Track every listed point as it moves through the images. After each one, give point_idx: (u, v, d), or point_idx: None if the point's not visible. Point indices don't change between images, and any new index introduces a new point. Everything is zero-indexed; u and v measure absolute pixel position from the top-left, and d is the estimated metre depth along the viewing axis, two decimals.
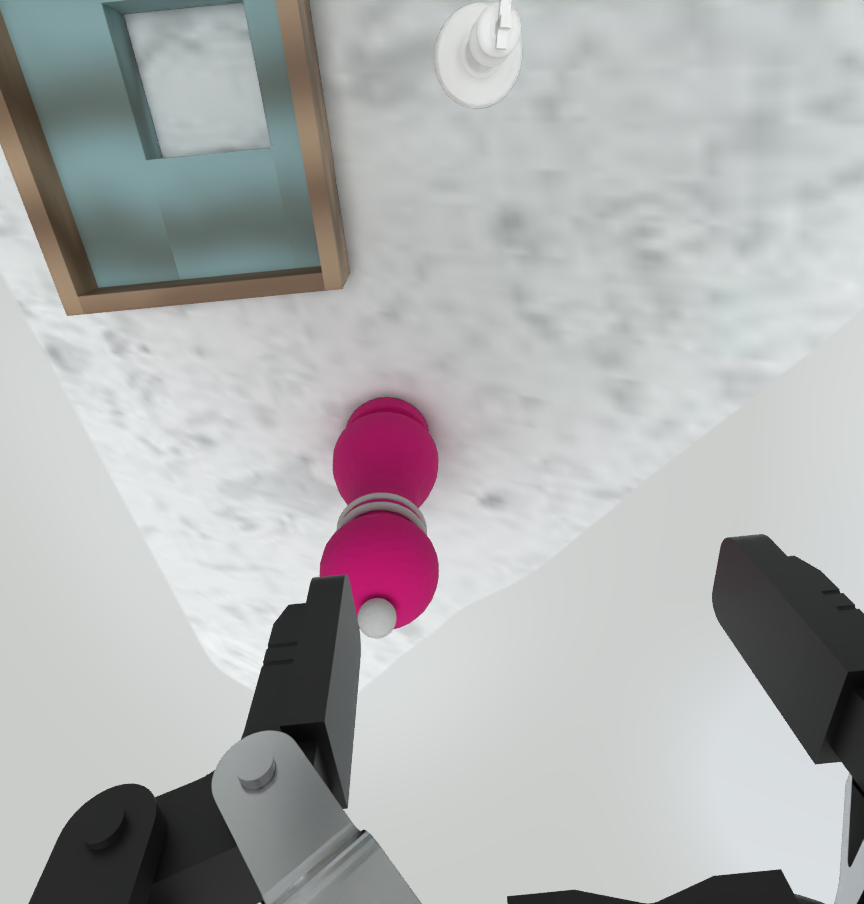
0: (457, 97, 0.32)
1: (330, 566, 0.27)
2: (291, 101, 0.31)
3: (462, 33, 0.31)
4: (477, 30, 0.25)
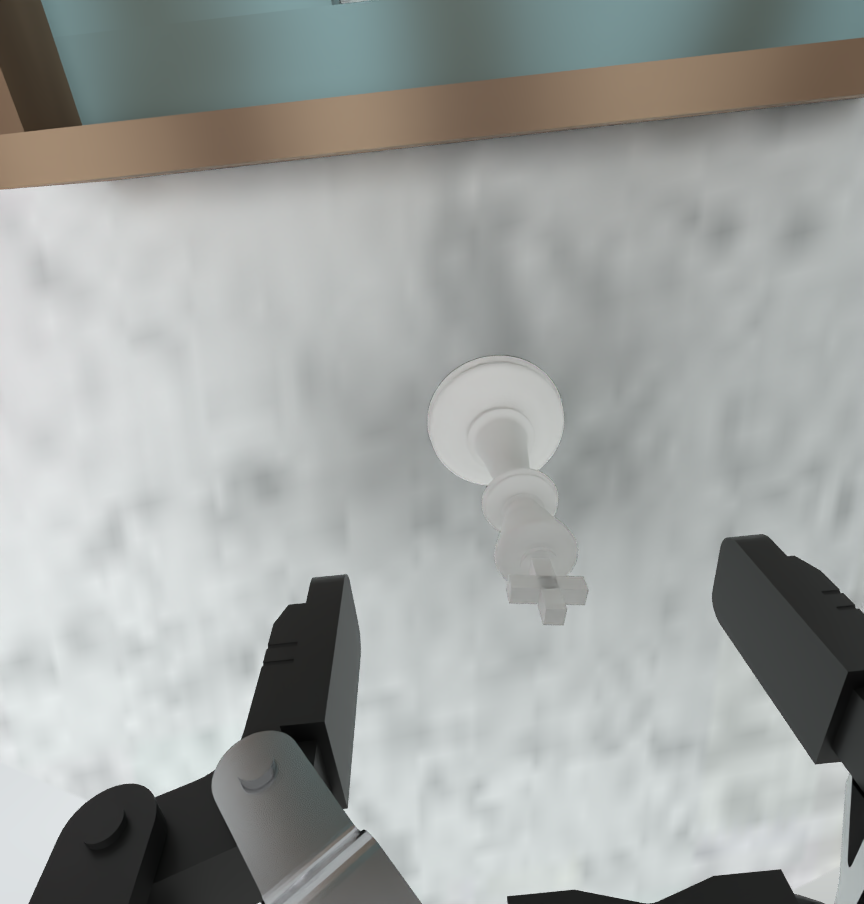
0: (441, 398, 0.19)
1: None
2: (428, 73, 0.14)
3: (527, 405, 0.19)
4: (539, 524, 0.13)
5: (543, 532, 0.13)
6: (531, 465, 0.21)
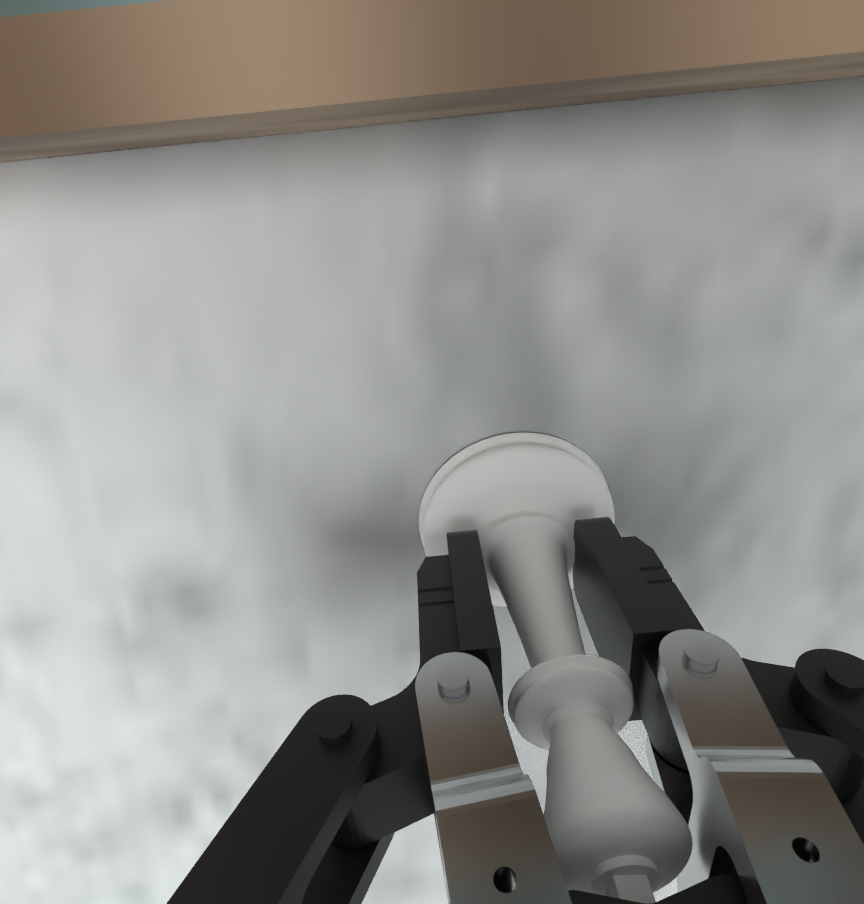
0: (439, 496, 0.13)
1: None
2: None
3: (565, 507, 0.13)
4: (628, 817, 0.07)
5: (636, 831, 0.07)
6: None
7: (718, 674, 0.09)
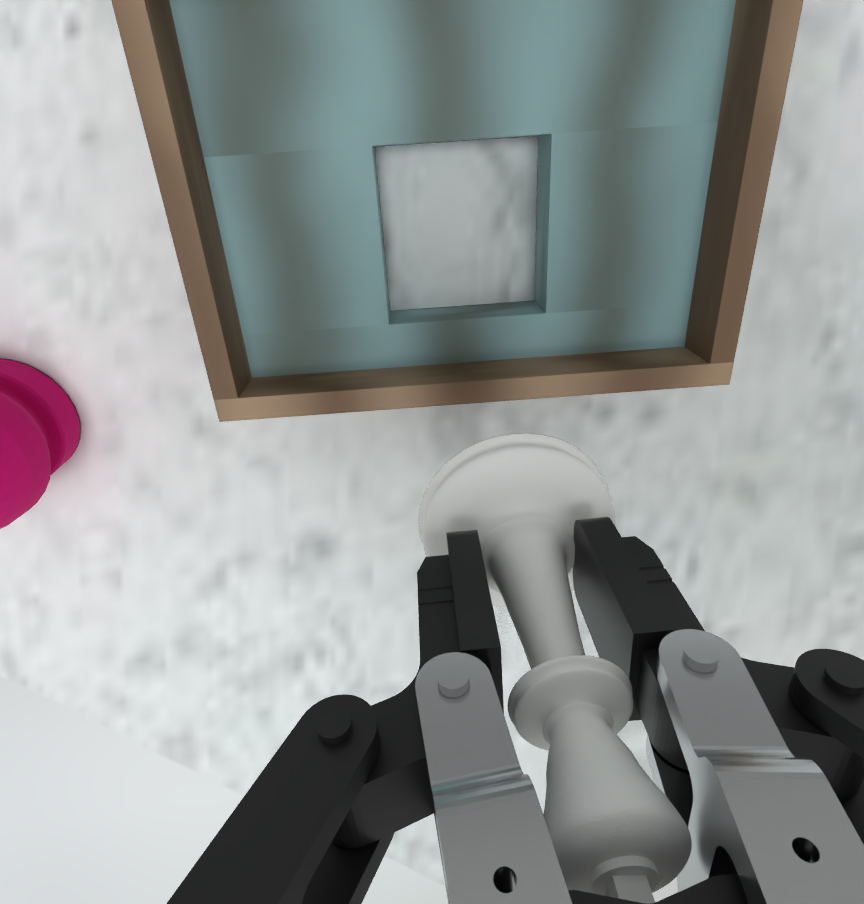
0: (439, 496, 0.13)
1: None
2: (437, 354, 0.26)
3: (565, 508, 0.13)
4: (627, 817, 0.07)
5: (636, 831, 0.07)
6: None
7: (718, 674, 0.09)
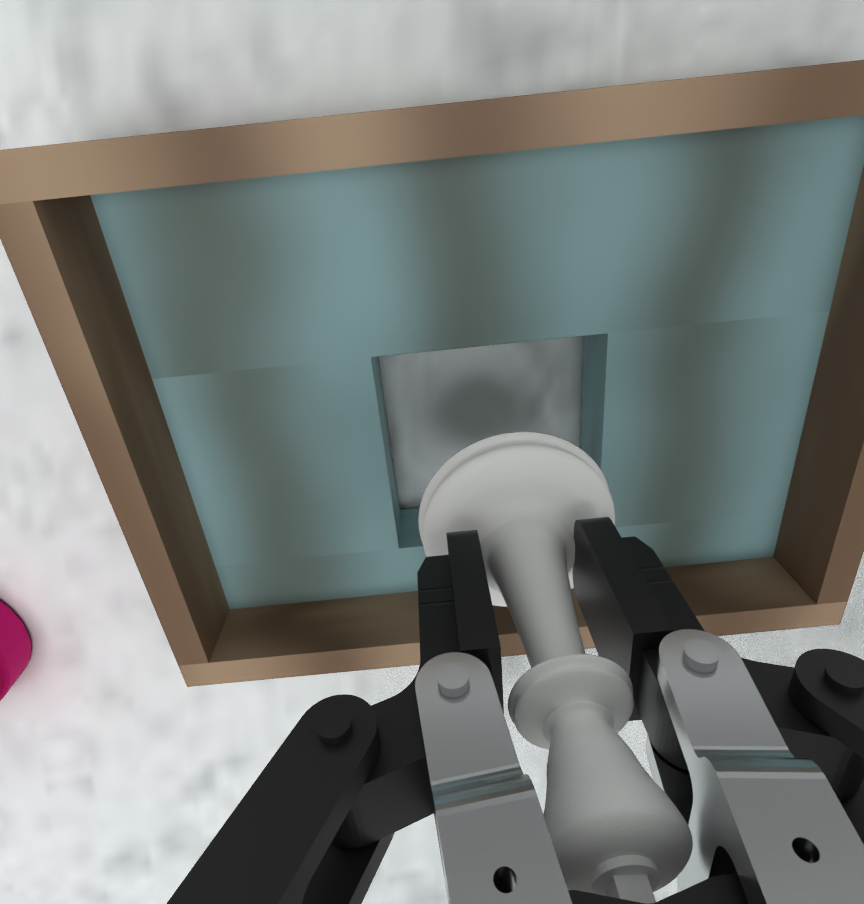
0: (439, 495, 0.13)
1: None
2: None
3: (565, 507, 0.13)
4: (628, 816, 0.07)
5: (636, 831, 0.07)
6: None
7: (718, 674, 0.09)
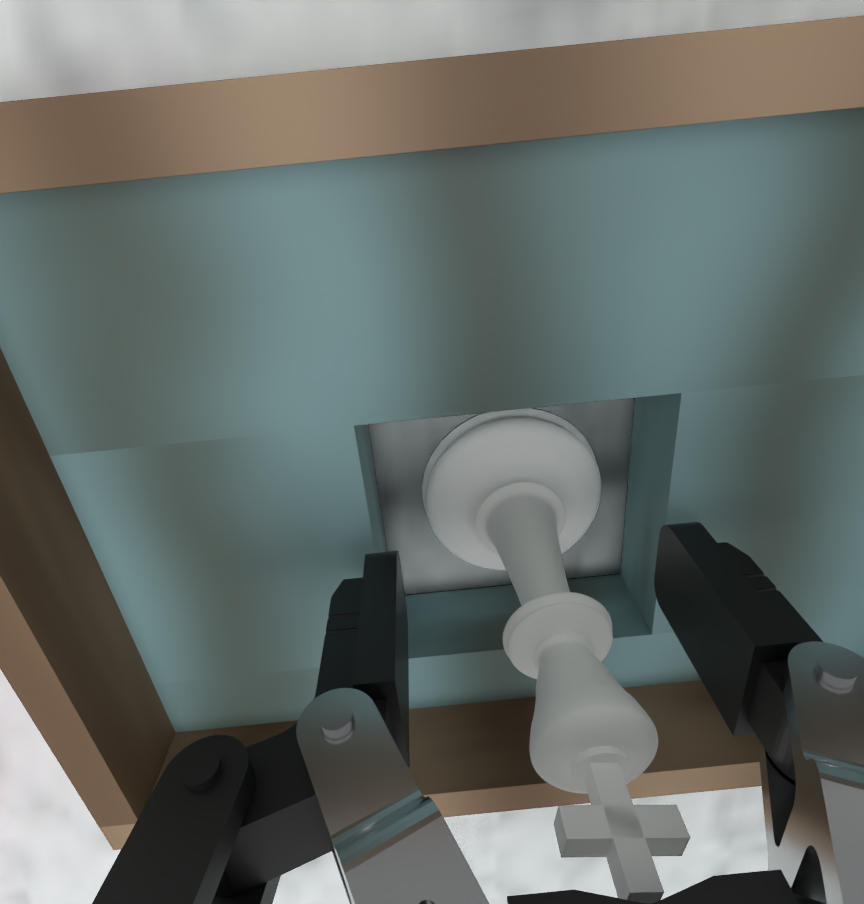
0: (441, 465, 0.15)
1: None
2: (472, 691, 0.16)
3: (556, 475, 0.15)
4: (602, 712, 0.08)
5: (609, 724, 0.08)
6: None
7: (859, 690, 0.08)
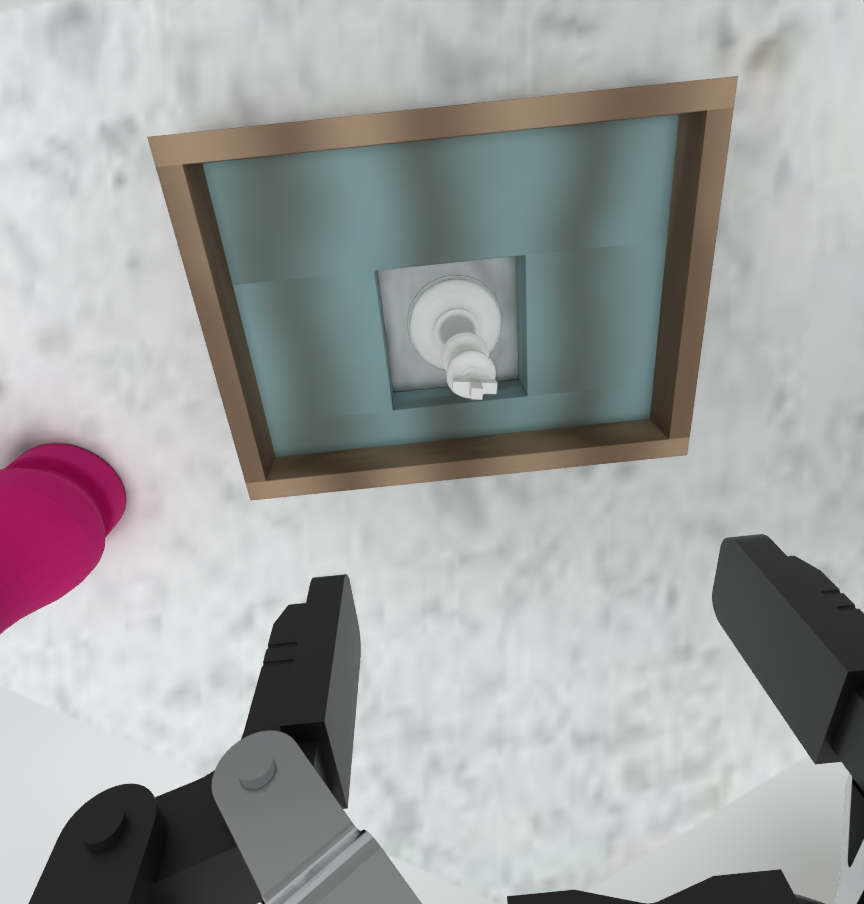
0: (416, 304, 0.29)
1: None
2: (435, 432, 0.30)
3: (475, 308, 0.29)
4: (471, 352, 0.22)
5: (473, 357, 0.22)
6: None
7: None
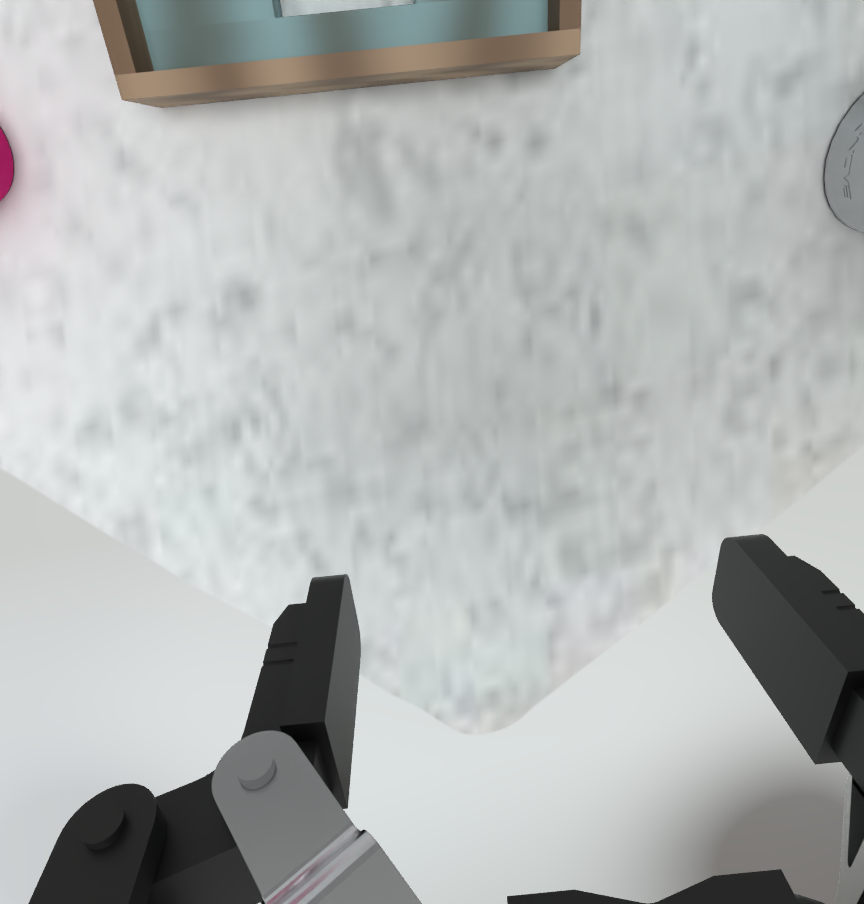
0: None
1: None
2: (322, 50, 0.29)
3: None
4: None
5: None
6: None
7: None
